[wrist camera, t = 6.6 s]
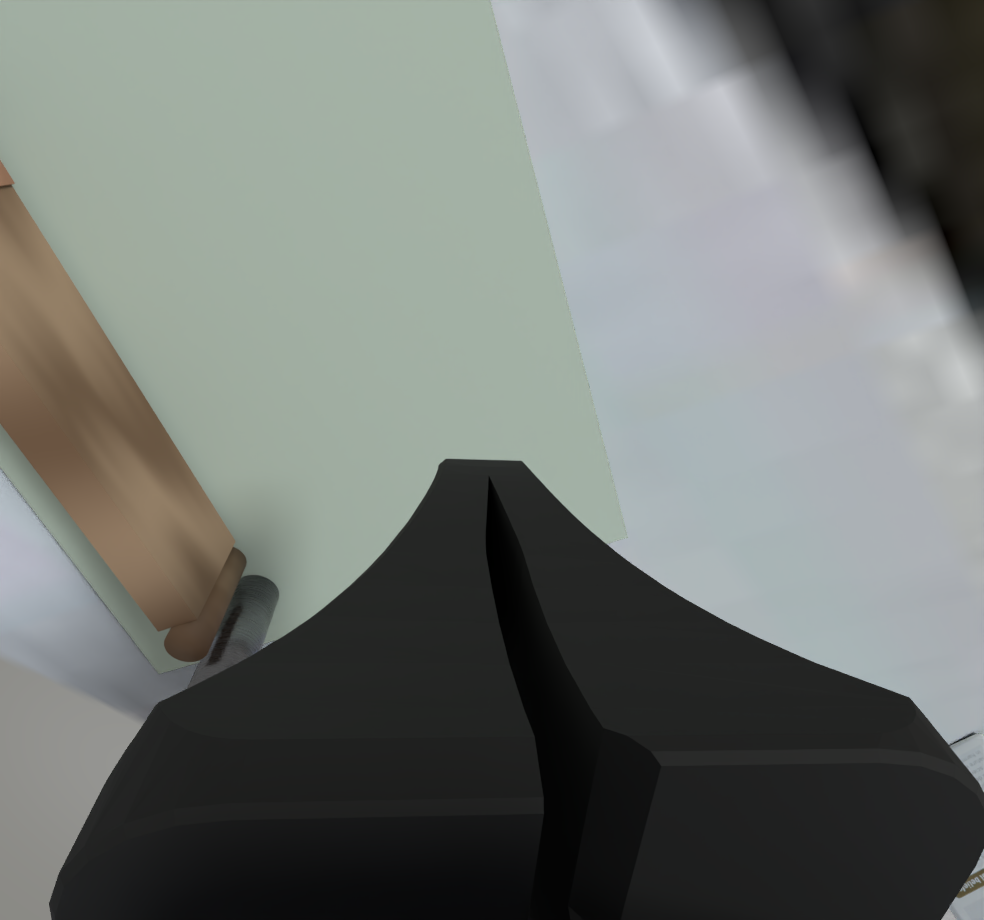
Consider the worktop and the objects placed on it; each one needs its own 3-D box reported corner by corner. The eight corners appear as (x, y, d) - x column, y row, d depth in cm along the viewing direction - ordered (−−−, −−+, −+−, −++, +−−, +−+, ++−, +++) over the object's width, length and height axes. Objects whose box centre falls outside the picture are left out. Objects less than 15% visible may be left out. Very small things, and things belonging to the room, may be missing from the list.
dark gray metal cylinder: (290, 592, 24) (251, 714, 19) (249, 605, 24) (200, 729, 19) (-29, 47, 16) (-238, 17, 11) (-87, 70, 16) (-319, 50, 11)
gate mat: (623, 528, 24) (627, 537, 23) (164, 662, 25) (159, 674, 24) (422, -256, 14) (420, -271, 13) (-306, 36, 15) (-332, 33, 15)
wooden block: (255, 568, 22) (220, 654, 19) (217, 580, 22) (175, 667, 19) (-12, 141, 16) (-142, 147, 12) (-63, 161, 16) (-206, 173, 12)
